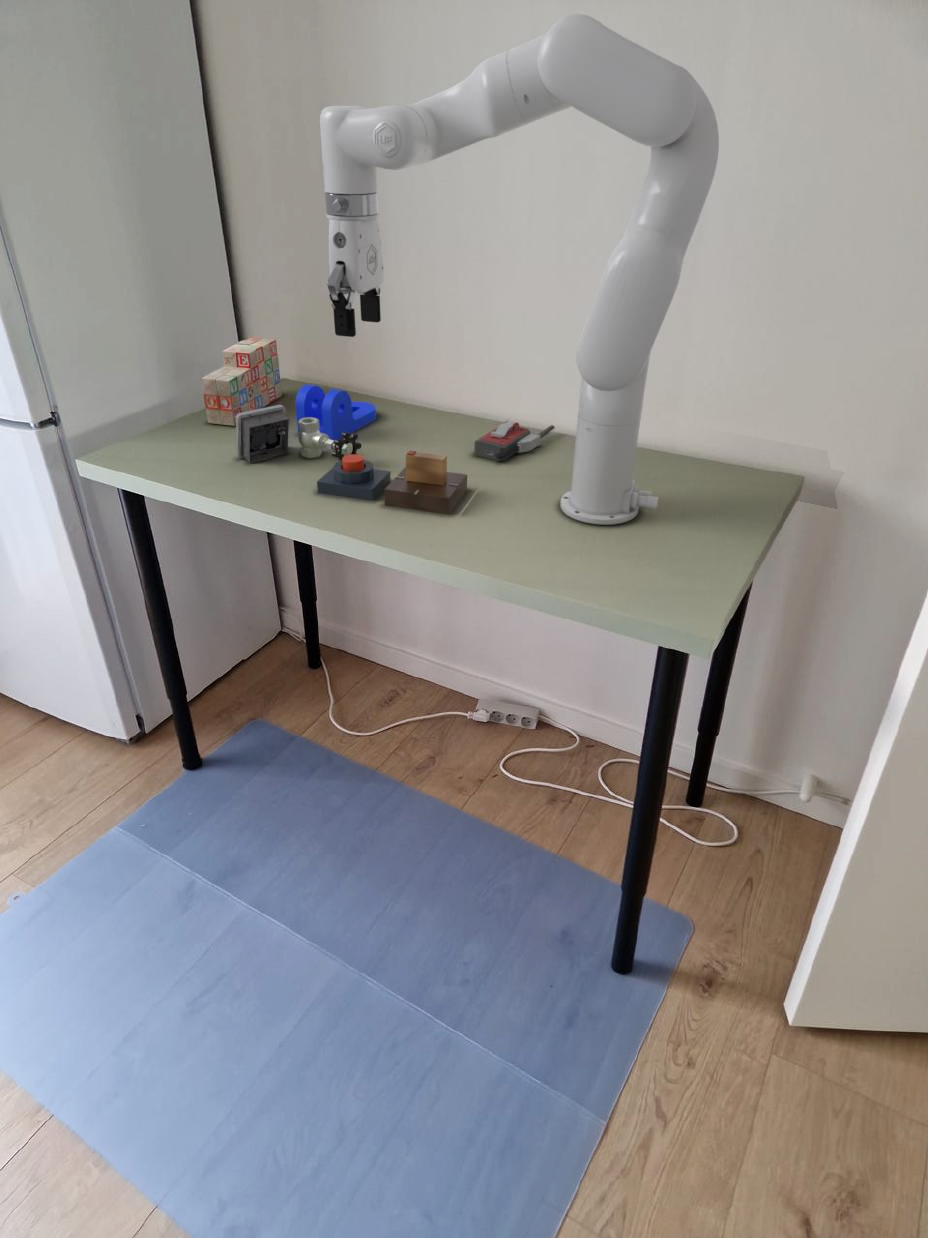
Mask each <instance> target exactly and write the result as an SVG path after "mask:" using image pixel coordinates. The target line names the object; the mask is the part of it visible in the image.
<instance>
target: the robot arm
mask: <svg viewBox="0 0 928 1238" xmlns="http://www.w3.org/2000/svg"><path fill="white" fill-rule="evenodd" d="M570 108H573V109H575V110H577V111H579V112H581V113H582V114H584V115H586V116H588V117H589V118H591V119H593V120H595V121H596V122H599V123H600V124H602V125H604V126H607V127H608V128H609V129H612V130H614V131H615V132H618V133H619V134H621V135H623V136H625V137H626V138H628V139H631V140H632V141H634V142H636V143H638V144H641V145H643V146H646V147H650V162H649V165H648V168H647V172H646V175H645V177H644V180H643V183H642V185H641V188H640V191H639V194H638V198H637V201H636V204H635V207H634V209H633V212H632V214H631V217H630V220H629V222H628V224H627V227H626V230H625V232H624V234H623V236H622V238H621V239H620V241H619V242H618V244H617V245H616V247H615V248H614V250H613V251H612V252H611V254H610V256H609V258H608V260H607V263H606V265H605V268H604V270H603V273H602V275H601V279H600V282H599V284H598V286H597V290H596V293H595V296H594V298H593V301H592V303H591V306H590V310H589V311H588V315H587V317H586V321H585V323H584V326H583V330H582V332H581V334H580V337H579V340H578V344H577V346H576V354H575V358H576V366H577V370H578V372H579V373H580V376H581V382H580V390H579V399H578V412H577V420H576V432H575V444H574V455H573V465H572V476H571V488H570V489H571V490H569V491H567V492H565V493H564V494H563V495H562V496H561V497H560V505H559V506H560V510H561V512H563V513H564V514H565V515H566V516H568V517H569V518H571V519H573V520H576V521H578V522H582V523H586V524H591V525H598V526H599V525H600V526H612V525H619V524H624V523H627V522H629V521H631V520H633V519H634V518H636V517H637V515H638V514H639V508H646V509H650V510H658V506H659V500H660V497H659V496H653V491H649V490H648V491H647V490H639V488H636V480H635V479H633V478H634V473H635V464H636V456H637V449H638V443H639V442H638V441H639V433H640V426H641V419H642V413H643V406H644V399H645V398H644V397H645V392H646V386H647V385H646V384H647V378H648V371H649V364H650V359H651V352H652V349H653V347H654V345H655V342H656V339H657V337H658V335H659V333H660V330H661V328H662V325H663V322H664V320H665V318H666V315H667V313H668V311H669V308H670V306H671V304H672V301H673V298H674V296H675V294H676V290H677V288H678V285H679V282H680V279H681V276H682V275H681V274H682V270H683V264H684V259H685V255H686V253H687V251H688V247H689V245H690V242H691V241H692V237H693V235H694V232H695V229H696V227H697V225H698V222H699V220H700V217H701V214H702V211H703V208H704V205H705V202H706V201H707V197H708V195H709V192H710V189H711V186H712V184H713V180H714V178H715V173H716V170H717V165H718V160H719V150H720V137H719V136H720V135H719V134H720V133H719V126H718V122H717V117H716V114H715V113H716V112H715V111H714V108H713V105H712V103H711V101H710V99H709V97H708V96H707V94H706V92H705V91H704V89H703V88H702V87H701V85H700V84H699V82H698V81H697V80H696V78H695V77H694V76H693V75H692V73H690V72H689V71H688V70H687V69H686V68H684V67H683V66H681V65H680V64H679V65H678V64H676V63H675V62H673V61H670V60H669V59H666V57H665V58H664V57H663V56H661V55H659V54H657V53H655V52H654V51H651V50H649V49H647V48H645V47H643V46H641V45H639V44H638V43H636V42H634V41H632V40H630V39H629V38H626V37H624V36H623V35H621V34H619V33H618V32H616V31H614V30H612V29H611V28H610V27H607V26H606V25H604V24H603V23H602V22H600V20H597V19H595V17H592V16H589V15H588V14H582V13H575V14H569V15H566V16H563V17H562V18H561V19H559V20H557V21H556V22H555V23H554V24H552V26H551V27H549V29H548V30H547V31H546V33H543V34H541V35H539V36H537V37H536V38H534V39H531V40H528V41H526V42H524V43H522V44H519V45H517V46H515V47H513V48H510V49H508V50H505V51H503V52H501V53H498V54H495V55H493V56H491V57H488V58H486V59H485V60H483V61H482V62H480V63H478V65H477V66H476V67H475V68H474V69H473V70H472V72H471V73H470V74H469V75H468V76H467V77H466V78H464V79H463V80H462V81H460V82H459V83H457V84H454V85H453V86H450V87H449V88H446V89H444V90H442V91H440V92H438V93H436V94H433V95H431V96H429V97H426V98H424V99H421V100H419V101H417V102H414V103H411V104H408V103H407V104H394V105H392V104H391V105H385V106H384V105H383V106H377V107H371V108H368V107H365V106H361V105H330V106H329V105H328V106H326V107H324V108H322V110H321V112H320V115H319V130H320V144H321V157H322V159H321V160H322V173H323V188H324V198H325V200H324V201H325V215H326V216H325V217H326V219H328V266H329V267H328V268H329V277H328V279H327V282H326V285H327V286H326V287H327V289H328V293H329V300H330V301H331V308H332V309H333V310H332V311H333V320H334V321H333V322H334V323H333V325H334V334H335V335H336V336H339V337H347V338H348V337H349V338H354V337H356V336H357V330H356V329H357V328H356V315H355V308H353V303H354V299H355V294H356V293H357V294H359V304H360V305H359V306H360V320H361V321H362V322H368V323H380V322H381V320H382V319H381V318H382V317H381V314H382V313H381V296H380V295H381V292H382V291H381V285H382V284H383V282H384V280H385V279H384V278H385V275H384V274H385V272H384V260H383V247H382V237H381V230H380V224H379V201H378V200H379V199H378V175H377V172H378V171H377V168H380V169H385V170H391V171H397V170H398V171H399V170H405V169H408V168H409V169H410V168H412V167H417V166H421V165H424V164H427V163H429V162H432V161H434V160H437V159H439V158H441V157H445V156H447V155H450V154H452V153H454V152H456V151H459V150H461V149H465V148H466V147H470V146H471V145H474V144H476V143H479V142H482V141H484V140H487V139H493V138H497V137H499V136H502V135H504V134H506V133H510V132H511V131H514V130H516V129H520V128H523V127H524V126H526V125H528V124H531V123H534V122H536V121H538V120H542V119H544V118H547V117H549V116H551V115H553V114H557V113H560V112H562V111H564V110H567V109H570ZM345 295H346V296H345Z"/></svg>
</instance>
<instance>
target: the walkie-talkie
mask: <svg viewBox="0 0 928 1238" xmlns="http://www.w3.org/2000/svg"><path fill="white" fill-rule="evenodd" d="M555 428H556V427H555V425H553V424H551V425H549V426H548V427H546V428H545V429H543V430H542V431H540V432H539V433H532V432H531V430H530V429H529V428H527V427H523V426H520V423H519V422H517V421H511V420H506V421H504V422H503V423H501V424H499V425H498V426H497V427H496V428H494V429H492V430H491V431H489V432H487V433H486V434H484V435H483V436H481V437H479V438H477V439H476V440H474V445H473V446H474V449H473V453H474V455H475V456H476V457H478V458H483V459H487V460H492V461H497V462H505V461H506V460H507V459H509V458H510V457H512V456H514V455H515V454H517V453H518V454H520V453H528V452H531V451H532V450H533V449H535V448H536V447H539V446H540V445H541V440H542V438H544V437H545V436H547V435H548V434H549V433H550V432H552V431H553V430H554V429H555Z"/></svg>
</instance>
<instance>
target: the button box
mask: <svg viewBox="0 0 928 1238" xmlns="http://www.w3.org/2000/svg"><path fill="white" fill-rule="evenodd" d="M391 482H392V481H391V470H383V469H376V468H374V465H373V462H371V461H369V460H366V459H364V469H362V470H359V471H345V470H343V465H342V461H340V462H338V461H337V463H336V462H335V464H334V465H333V467H332V468H330V470H328V471H327V472H326V473H324V475H322V476H321V477H320V478H319V479H318V480H317V481H316V485H317V487H316V488H317V493H318V494H322V495H328V496H336V497H342V498H348V499H349V498H350V499H356V500H364V501H370V502H373V501H375V500H376V499H377V497H379V495H381V493H382V492H384V489H385V488H386V487H387V486H388V485H389V484H390V483H391Z"/></svg>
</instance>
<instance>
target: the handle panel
mask: <svg viewBox="0 0 928 1238" xmlns="http://www.w3.org/2000/svg"><path fill="white" fill-rule="evenodd" d="M467 491H468V474H465V473H457V472H450V471H447V482H446V483H445V485H444V486H441V485H434V484H427V483H419V482H412V481H406V466H405V467H404V468H403V469H402V470H401V471H400V472H399V473H398V474H397V475H396V476H395V477H394V478H393V480H392V481H391V483H390V484H389V485H388V486H387V487H386V488H385V489H384V490H383V492H384V506H385V507H393V508H399V509H407V510H413V511H419V512H420V511H421V512H427V513H433V514H434V513H435V514H441V515H448V516H449V515H450V514H451V513H452V511H453V510H454V509H455V508H456V506H457V505H458V504H459V502H460V501H461V499H463V497H464V496H465V494H466V493H467Z"/></svg>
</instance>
